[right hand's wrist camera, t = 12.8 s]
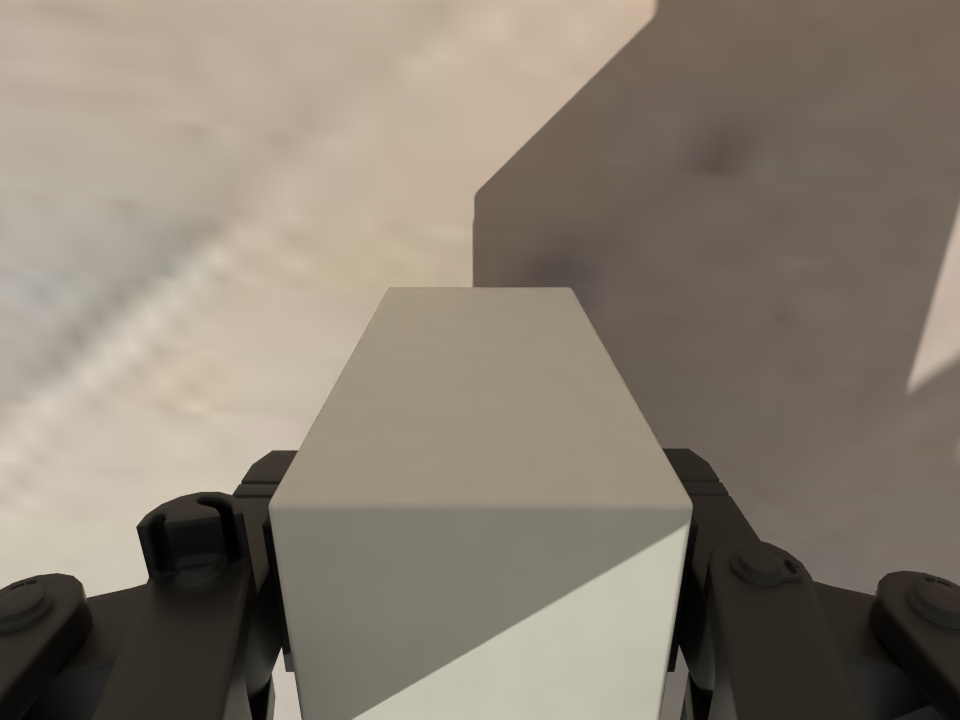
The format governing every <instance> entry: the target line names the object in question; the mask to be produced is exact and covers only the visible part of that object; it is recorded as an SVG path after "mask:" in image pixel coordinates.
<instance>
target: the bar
mask: <svg viewBox="0 0 960 720" xmlns="http://www.w3.org/2000/svg"><path fill="white" fill-rule="evenodd" d="M268 507H269V513H270V520H271V526H272V533H273V539H274V545H275V552H276V558H277V565H278V571H279V577H280V584H281V590H282V596H283V603H284V609H285V616H286V622H287V628H288V635H289V641H290V647H291V654H292V660H293V667H294V673H295V679H296V686H297V692H298V699H299V705H300V711H301V718H302V720H660V714H661V708H662V701H663V695H664V688H665V682H666V676H667V669H668V663H669V657H670V650H671V644H672V637H673V631H674V625H675V618H676V612H677V605H678V599H679V593H680V586H681V580H682V574H683V567H684V561H685V554H686V548H687V542H688V535H689V529H690V522H691V516H692V510H693V505H692V502H691V499H690V498H689V496H688V494H687V492H686V491H685V489H684V487H683V485H682V483H681V482H680V480H679V478H678V476H677V475H676V473H675V471H674V469H673V467H672V466H671V464H670V462H669V460H668V459H667V457H666V455H665V453H664V452H663V450H662V448H661V446H660V444H659V443H658V441H657V439H656V437H655V436H654V434H653V432H652V430H651V428H650V427H649V425H648V423H647V421H646V420H645V418H644V416H643V414H642V413H641V411H640V409H639V407H638V405H637V404H636V402H635V400H634V398H633V397H632V395H631V393H630V391H629V389H628V388H627V386H626V384H625V382H624V381H623V379H622V377H621V375H620V374H619V372H618V370H617V368H616V366H615V365H614V363H613V361H612V359H611V358H610V356H609V354H608V352H607V350H606V349H605V347H604V345H603V343H602V342H601V340H600V338H599V336H598V335H597V333H596V331H595V329H594V327H593V326H592V324H591V322H590V320H589V319H588V317H587V315H586V313H585V311H584V310H583V308H582V306H581V304H580V303H579V301H578V299H577V297H576V296H575V294H574V292H573V290H572V288H569V287H391V288H389V289H388V290H387V292H386V294H385V295H384V297H383V299H382V301H381V303H380V304H379V306H378V308H377V310H376V312H375V313H374V315H373V317H372V319H371V321H370V322H369V324H368V326H367V328H366V330H365V331H364V333H363V335H362V337H361V339H360V340H359V342H358V344H357V346H356V348H355V349H354V351H353V353H352V355H351V357H350V358H349V360H348V362H347V364H346V366H345V367H344V369H343V371H342V373H341V375H340V376H339V378H338V380H337V382H336V384H335V385H334V387H333V389H332V391H331V393H330V394H329V396H328V398H327V400H326V402H325V403H324V405H323V407H322V409H321V411H320V412H319V414H318V416H317V418H316V420H315V421H314V423H313V425H312V427H311V429H310V430H309V432H308V434H307V436H306V438H305V439H304V441H303V443H302V445H301V447H300V448H299V450H298V452H297V454H296V456H295V457H294V459H293V461H292V463H291V465H290V466H289V468H288V470H287V472H286V474H285V475H284V477H283V479H282V481H281V483H280V484H279V486H278V488H277V490H276V492H275V493H274V495H273V497H272V499H271V501H270V503H269V506H268Z"/></svg>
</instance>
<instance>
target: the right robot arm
mask: <svg viewBox="0 0 960 720" xmlns="http://www.w3.org/2000/svg"><path fill="white" fill-rule="evenodd" d="M662 450H663V452H664V453H665V455H666V457H667V459H668V460H669V462H670V464H671V466H672V467H673V469H674V471H675V473H676V475H677V476H678V478H679V480H680V482H681V483H682V485H683V487H684V489H685V491H686V492H687V494H688V496H689V498H690V499H691V502H692V505H693V510H692V516H691V522H690V529H689V535H688V542H687V548H686V554H685V561H684V567H683V574H682V580H681V586H680V593H679V599H678V605H677V612H676V618H675V625H674V631H673V637H672V644H671V650H670V657H669V663H668V669H667V672H674V671H675V665H676V658H677V652H678V646H680V648H681V651H682V653H683V656H684V659H685V661H686V664H687V667H688V669H689V673H688V678H687V684H686V689H685V695H684V701H683V706H682V712H681V718H680V720H960V586H958V585H956V584H954V583H952V582H950V581H948V580H945V579H942V578H940V577H935V576H933V575H929V574H926V573H919V572H911V571H899V572H894V573H888V574H887V575H886V576H885V577H883V578H882V579H881V580H880V581H879V583H878V587H877V590H876V593H875V596H874V595H869V594H865V593H860V592H856V591H851V590H846V589H842V588H837V587H833V586H829V585H825V584H822V583H818V582H815V581H813V580H812V578H811V576H810V574H809V573H808V571H807V570H806V569H805V567H804V566H803V564H802V563H801V562H800V561H798V560H797V559H796V558H794V557H793V556H792V555H791V554H789V553H788V552H787V551H784V550H782V549H780V548H778V547H776V546H774V545H772V544H770V543H766V542H762V541H760V539H759V538H758V536H757V535H756V533H755V532H754V530H753V529H752V527H751V526H750V524H749V523H748V521H747V520H746V518H745V517H744V515H743V514H742V512H741V511H740V510H739V508H738V507H737V505H736V504H735V502H734V501H733V499H732V498H731V496H728V492H727V490H726V489H725V487H724V486H723V484H722V483H720V482H719V478H718V477H717V475H716V474H715V472H714V471H713V469H712V468H711V466H710V465H709V463H708V462H706V461H705V460H703V459H702V458H701V457H699V456H698V455H696V454H695V453H694V452H692V451H691V450H689V449H662ZM297 452H298V451H271V452H270V453H268V454H267V455H265V456H264V457H263V458H261V459H260V460H258V461H257V462H256V463H254V464H253V465H252V466H251V468H250V469H249V471H248V472H247V474H246V475H245V477H244V478H243V480H242V481H241V482H242V483H241V484H239V486H238V487H237V489H236V490H235V492H234V493H233V495H229V494H225V493H221V492H199V493H194V494H190V495H185V496H181V497H178V498H176V499H173V500H171V501H169V502H166V503H164V504H161V505H160V506H158V507H157V508H156V509H154V510H153V511H151V512H150V513H148V514H147V515H146V516H145V517H144V518H143V519H142V521H141V522H140V523H139V524H138V526H137V527H136V528H137V532H138V535H139V539H140V543H141V547H142V551H143V555H144V558H145V562H146V566H147V570H148V574H149V579H148V581H147V584H144V585H140V586H137V587H133V588H130V589H125V590H121V591H116V592H112V593H107V594H103V595H98V596H94V597H89V598H86V595H85V591H84V588H83V585H82V583H81V582H80V581H78V580H77V579H76V578H75V577H74V576H71V575H65V574H59V573H55V574H46V575H37V576H34V577H31V578H27V579H24V580H20V581H18V582H15V583H12V584H10V585H8V586H6V587H4V588H3V589H1V590H0V720H273V715H274V705H275V691H274V684H273V678H272V671H273V668H274V665H275V663H276V660H277V657H278V655H279V652H280V649H281V647H282V650H283V656H284V662H285V668H286V672H294V667H293V660H292V654H291V647H290V641H289V635H288V628H287V622H286V616H285V609H284V603H283V596H282V590H281V584H280V577H279V571H278V565H277V558H276V552H275V545H274V539H273V533H272V526H271V520H270V513H269V507H268V506H269V503H270V501H271V499H272V497H273V495H274V493H275V492H276V490H277V488H278V486H279V484H280V483H281V481H282V479H283V477H284V475H285V474H286V472H287V470H288V468H289V466H290V465H291V463H292V461H293V459H294V457H295V456H296V454H297Z"/></svg>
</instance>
